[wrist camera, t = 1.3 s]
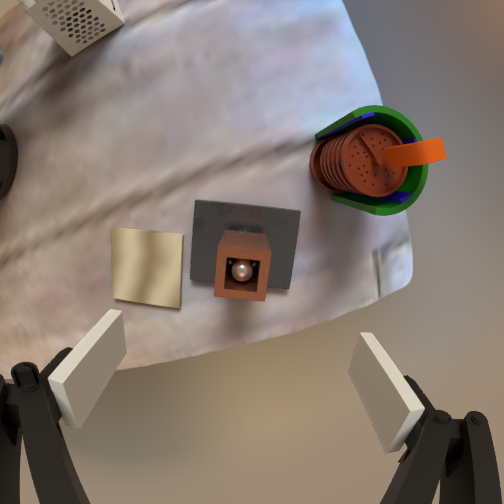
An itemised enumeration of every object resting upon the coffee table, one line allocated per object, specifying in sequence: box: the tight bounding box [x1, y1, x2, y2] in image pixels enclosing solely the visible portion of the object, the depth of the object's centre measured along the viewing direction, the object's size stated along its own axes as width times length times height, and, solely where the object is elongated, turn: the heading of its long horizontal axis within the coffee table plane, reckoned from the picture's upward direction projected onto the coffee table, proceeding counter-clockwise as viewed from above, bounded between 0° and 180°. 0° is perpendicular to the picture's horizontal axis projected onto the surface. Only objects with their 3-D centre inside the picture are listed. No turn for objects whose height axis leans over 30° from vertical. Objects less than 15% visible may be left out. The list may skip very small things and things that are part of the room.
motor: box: [310, 105, 447, 216], centre depth 29 cm, size 10×9×20 cm
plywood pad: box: [111, 228, 184, 308], centre depth 41 cm, size 11×11×1 cm
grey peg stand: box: [190, 200, 301, 289], centre depth 35 cm, size 14×11×12 cm
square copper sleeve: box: [214, 230, 271, 301], centre depth 32 cm, size 5×5×9 cm
